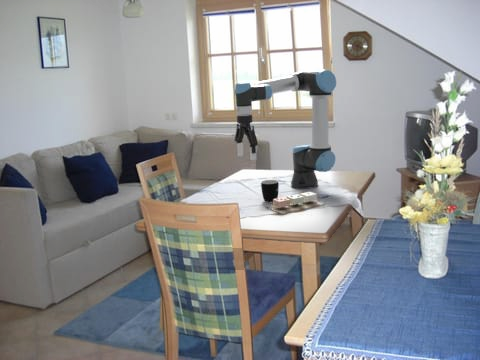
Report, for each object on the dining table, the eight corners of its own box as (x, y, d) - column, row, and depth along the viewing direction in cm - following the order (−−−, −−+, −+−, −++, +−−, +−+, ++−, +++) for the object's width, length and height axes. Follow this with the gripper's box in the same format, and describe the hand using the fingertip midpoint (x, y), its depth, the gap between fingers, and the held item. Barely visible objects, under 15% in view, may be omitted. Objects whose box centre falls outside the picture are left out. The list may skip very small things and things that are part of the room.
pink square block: (283, 202, 278) (283, 196, 278) (290, 205, 273) (289, 199, 273) (273, 205, 276) (272, 198, 275) (279, 207, 271) (279, 201, 270)
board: (308, 199, 290) (308, 198, 290) (324, 204, 278) (324, 203, 278) (266, 207, 279) (266, 206, 279) (281, 214, 267) (281, 213, 267)
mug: (279, 202, 287) (278, 183, 285) (262, 203, 287) (261, 184, 285) (278, 196, 299) (277, 178, 296) (261, 197, 299) (260, 178, 297)
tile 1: (310, 197, 286) (309, 191, 285) (317, 199, 280) (316, 193, 280) (300, 199, 283) (300, 193, 282) (307, 201, 278) (306, 195, 277)
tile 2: (297, 200, 282) (296, 193, 281) (303, 202, 277) (303, 196, 276) (286, 202, 279) (286, 196, 279) (293, 204, 274) (293, 198, 273)
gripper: (226, 113, 281) (229, 155, 286) (249, 117, 259) (251, 162, 264) (239, 112, 284) (242, 153, 289) (263, 115, 263) (265, 160, 267)
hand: (246, 157), depth 277 cm, fingers open, 13 cm apart
